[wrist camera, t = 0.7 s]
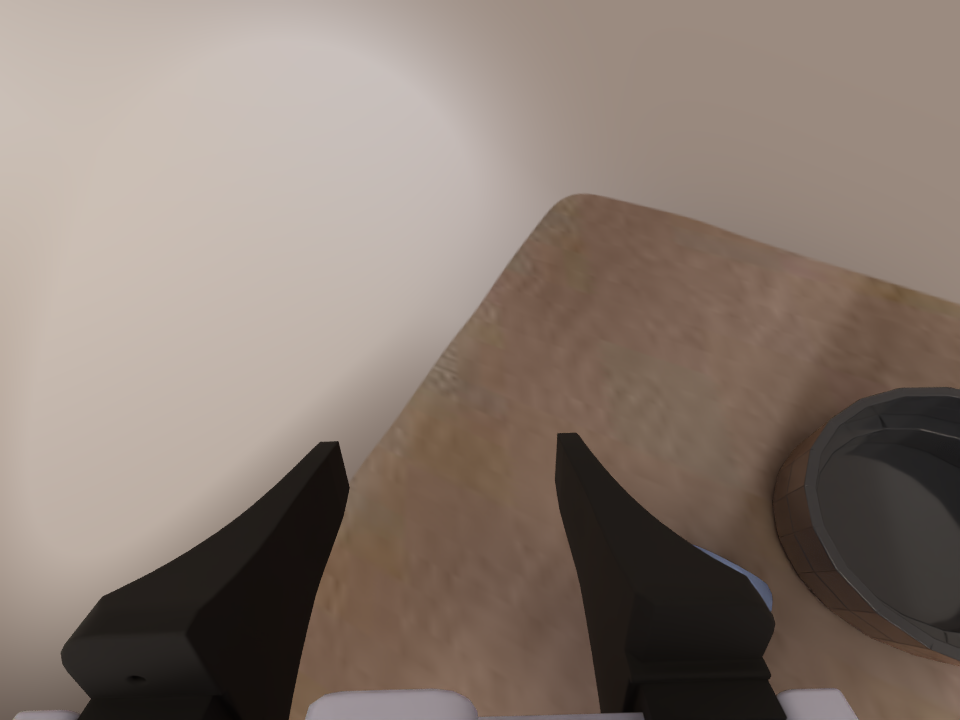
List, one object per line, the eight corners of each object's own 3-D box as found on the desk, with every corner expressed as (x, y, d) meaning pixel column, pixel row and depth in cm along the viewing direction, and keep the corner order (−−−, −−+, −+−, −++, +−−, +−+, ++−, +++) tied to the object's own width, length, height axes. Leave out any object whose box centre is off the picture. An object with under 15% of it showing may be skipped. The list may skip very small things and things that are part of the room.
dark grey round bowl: (1116, 571, 20) (1271, 567, 15) (914, 711, 20) (1006, 751, 15) (882, 388, 25) (942, 343, 21) (724, 496, 25) (747, 475, 20)
